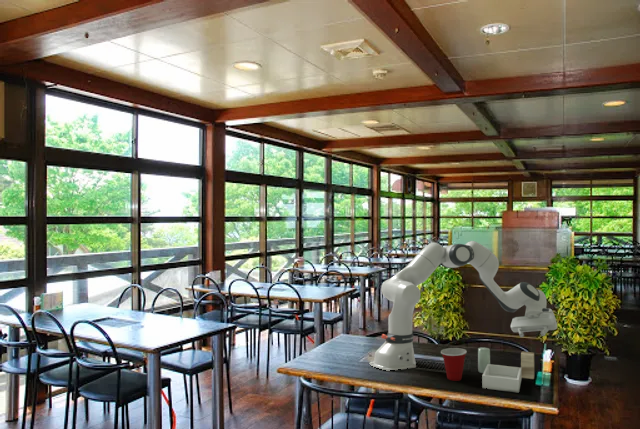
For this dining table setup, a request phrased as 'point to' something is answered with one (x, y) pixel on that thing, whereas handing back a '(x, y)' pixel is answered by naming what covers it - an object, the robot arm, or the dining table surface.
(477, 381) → the dining table surface
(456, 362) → the plastic cup
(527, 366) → the birch block
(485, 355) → the ceramic shaker
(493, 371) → the tub
